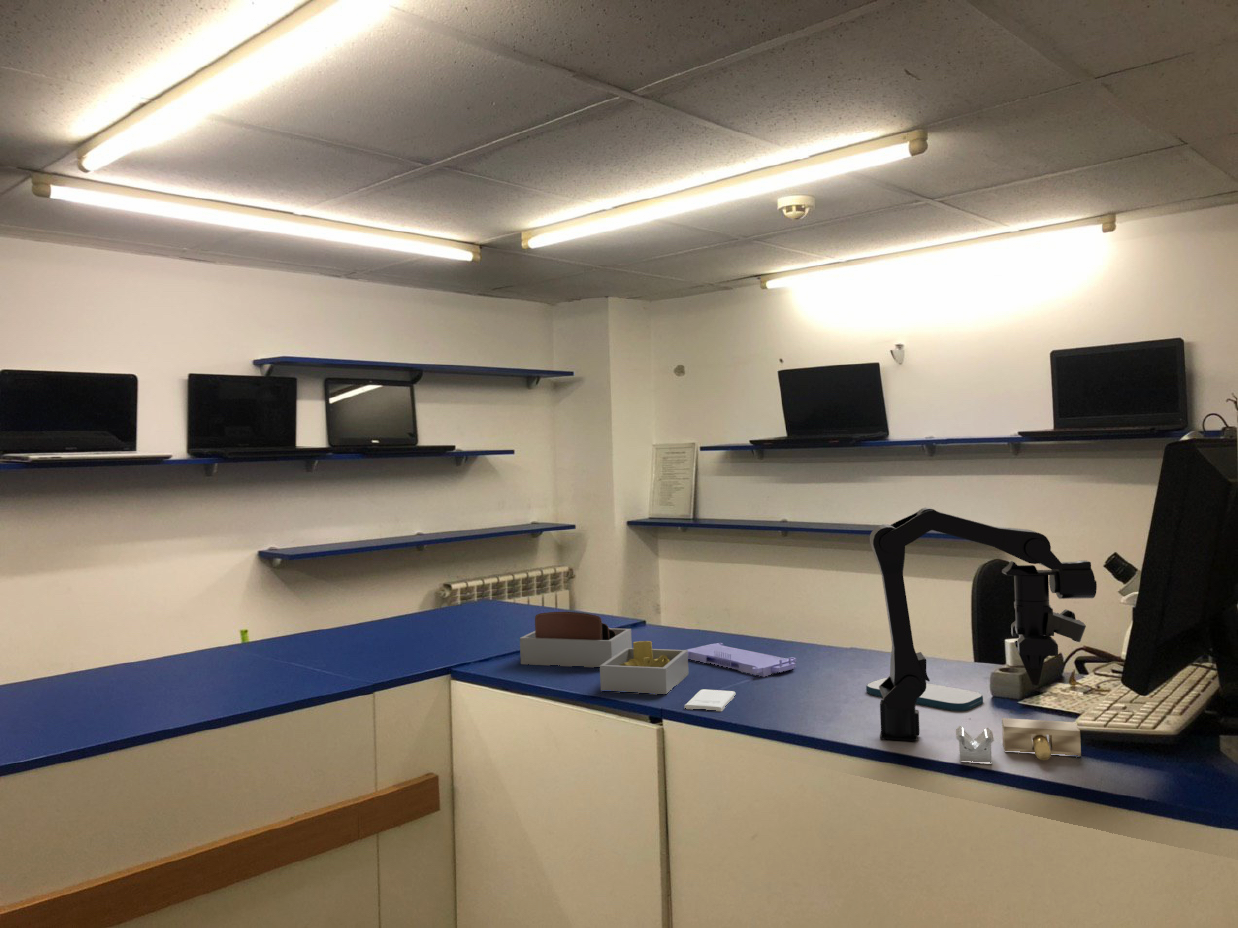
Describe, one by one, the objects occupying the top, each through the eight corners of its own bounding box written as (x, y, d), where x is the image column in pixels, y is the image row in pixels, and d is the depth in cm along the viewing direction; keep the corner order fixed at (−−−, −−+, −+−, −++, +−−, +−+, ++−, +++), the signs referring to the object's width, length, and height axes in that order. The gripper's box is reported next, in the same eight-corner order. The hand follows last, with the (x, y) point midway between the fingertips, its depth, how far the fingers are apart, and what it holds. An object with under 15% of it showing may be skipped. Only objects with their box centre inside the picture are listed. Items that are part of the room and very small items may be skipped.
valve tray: (600, 691, 208) (599, 665, 208) (627, 671, 226) (626, 648, 226) (666, 695, 202) (665, 668, 202) (688, 674, 220) (687, 650, 220)
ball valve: (618, 687, 215) (641, 689, 207) (615, 643, 216) (638, 644, 208) (660, 681, 222) (684, 683, 213) (658, 639, 223) (681, 639, 215)
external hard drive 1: (735, 698, 200) (721, 714, 188) (700, 696, 203) (684, 711, 191) (735, 691, 200) (721, 706, 188) (700, 689, 203) (684, 704, 191)
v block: (994, 765, 151) (993, 736, 151) (957, 762, 153) (956, 734, 153) (992, 755, 156) (992, 727, 155) (956, 753, 158) (955, 725, 157)
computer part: (762, 681, 212) (804, 670, 222) (762, 664, 212) (803, 653, 222) (678, 661, 236) (718, 652, 245) (677, 645, 236) (718, 636, 245)
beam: (1004, 752, 157) (1003, 726, 157) (1002, 743, 161) (1001, 718, 161) (1080, 757, 153) (1080, 731, 153) (1076, 748, 157) (1075, 722, 157)
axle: (1035, 760, 150) (1034, 746, 150) (1031, 738, 162) (1030, 725, 162) (1051, 760, 150) (1050, 746, 150) (1046, 738, 161) (1044, 725, 161)
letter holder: (602, 667, 232) (600, 613, 232) (535, 663, 240) (532, 611, 239) (617, 659, 241) (615, 606, 241) (552, 655, 249) (550, 604, 249)
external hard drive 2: (860, 695, 198) (860, 686, 198) (888, 684, 206) (888, 676, 206) (962, 715, 180) (962, 705, 180) (988, 703, 188) (988, 693, 188)
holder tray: (520, 664, 238) (519, 638, 238) (545, 650, 254) (544, 626, 253) (612, 668, 230) (611, 641, 230) (632, 654, 245) (631, 629, 245)
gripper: (1089, 609, 152) (1092, 700, 152) (1073, 591, 169) (1076, 673, 170) (1017, 607, 156) (1021, 697, 156) (1009, 590, 173) (1012, 671, 173)
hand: (1035, 684), depth 164 cm, fingers closed
